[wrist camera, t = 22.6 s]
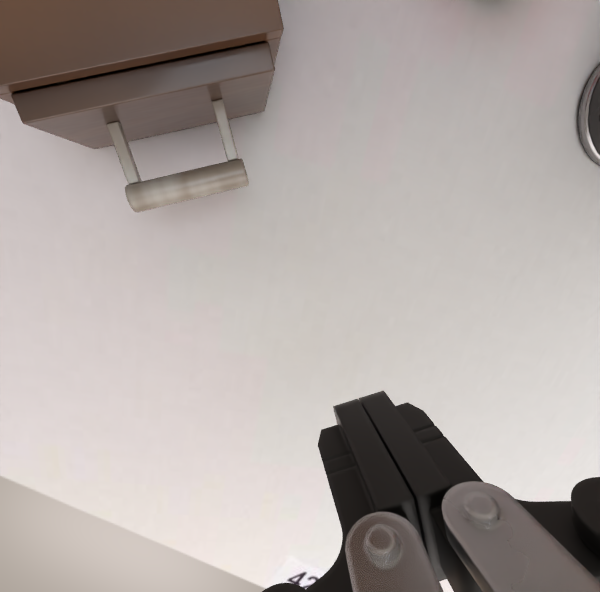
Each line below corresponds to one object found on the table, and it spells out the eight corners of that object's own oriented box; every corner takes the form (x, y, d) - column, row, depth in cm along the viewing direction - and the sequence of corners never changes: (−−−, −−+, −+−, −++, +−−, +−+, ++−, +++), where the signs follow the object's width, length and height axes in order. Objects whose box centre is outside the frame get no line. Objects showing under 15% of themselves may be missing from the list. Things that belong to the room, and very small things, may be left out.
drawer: (280, 180, 25) (297, 171, 18) (120, 219, 24) (66, 227, 17) (203, -147, 20) (180, -355, 12) (-7, -116, 19) (-168, -322, 11)
